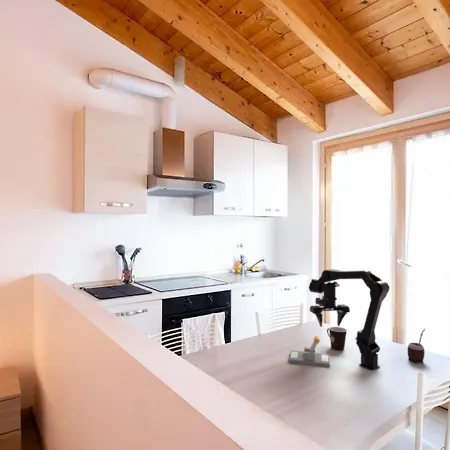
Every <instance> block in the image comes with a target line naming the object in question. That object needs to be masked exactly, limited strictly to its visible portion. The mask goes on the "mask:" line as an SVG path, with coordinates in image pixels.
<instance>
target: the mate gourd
mask: <svg viewBox="0 0 450 450" xmlns="http://www.w3.org/2000/svg"><path fill="white" fill-rule="evenodd" d="M425 331H426V328H424V329H423V330H422V331H421V333H420V336H419V337H420V338H419V341H418V342H410V343H408V345H407V357H408V358H407V359H408V360H407V361H411V362H414V364H418V363H422V364H423V363H424V359H425V348H424V345H423V344H421V342H422V337H423V333H424V332H425Z"/></svg>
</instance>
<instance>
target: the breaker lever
mask: <svg viewBox="0 0 450 450" xmlns="http://www.w3.org/2000/svg"><path fill="white" fill-rule="evenodd" d="M320 341H321V338H320V337H319V336H318V335H317V336H316V335H315V336H314V338H313V342H312V343H311V345H310V347H309V348H310V349H309V351H308V352H313V351H314V349H315V350H316V347H317V345H319V343H320Z"/></svg>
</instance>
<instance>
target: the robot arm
mask: <svg viewBox="0 0 450 450" xmlns="http://www.w3.org/2000/svg"><path fill="white" fill-rule="evenodd" d="M338 280H362V281H363V282H364V284H365V286H366V287H368V289H369V297H370V303H369V306H368V310H367V313H366V318H365V320H364V321H365V322H364V324H363V325H364V326H363V328H362V329H360V330H358V331H357V332H356V337H355V340H356V342H355V344H356V345H357V347H358V350H359V353H360V363H359V364H358V365H359V366H360V367H363V368H364V369H368V370H370V371H373V370H377V369H378V368H379V369H380V368H381V366H380V365H379V354H378V353H379V352H380V350H381V347H380V346H379V345H378V343H377V342H376V334H375V333H376V332H375V330H376V326H377V322H378V319H379V314H380V312H381V311H380V310H381V307H382V303H383V301H384V300H385V298H386V297H387V295H388V294H389V291H390V285H389V283H388V282H387V281H385V280H383V279H381V278H380V277H378V276H377V275H375V274H374V273H372V271H370V270H369V269H365V270H364V269H363V270H339V269H335V268H334V269H332V268H331V269H324V270H323V271H322V272H321V275H320V277H319V279H315V278H311V279H310V283H309V286H308V290H309V292H311V293H314V294H315V293H317V294H323V295H322V297H321V298H320V297H315V305H310V307H309V312H311V313H312V314H313V315H315V316H316V319H317V321H318V325H319V327H320V328H322V327H323V312H333V311H334V312H335V311H336V315H337V317H336V318H337V322H336V325H337V327H341V326H340V325H341V323H342V321H343V319H344V317H346V315H348V313H350V311H351V308H350V307H349V306H348V305H347V304H345V303H344V304H337V305H336V302H337V300H338V298H337V297H336V295H337V293H336V292H337V291H336V290H337V289H336V288H338V287H340V286H341V285H340V284H339V283H338V282H337V281H338Z"/></svg>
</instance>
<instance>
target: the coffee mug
mask: <svg viewBox="0 0 450 450" xmlns="http://www.w3.org/2000/svg"><path fill="white" fill-rule="evenodd" d="M326 333H327V335H328V337H329V341H330V348H331V350H333V351H337V352H343V351H345V346H346V338H347V329H346V328H344V327H341V326H331V327H330V326H329V328H327V329H326Z"/></svg>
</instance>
